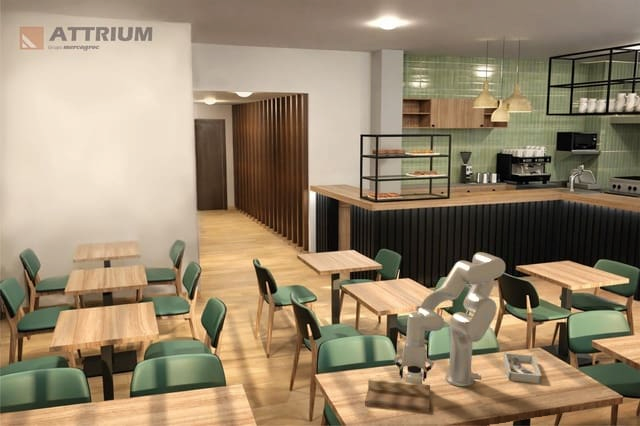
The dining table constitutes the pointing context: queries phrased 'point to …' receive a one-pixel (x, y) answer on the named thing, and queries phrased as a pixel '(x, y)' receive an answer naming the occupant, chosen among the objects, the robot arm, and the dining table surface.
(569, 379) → the dining table surface
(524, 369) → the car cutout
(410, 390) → the board
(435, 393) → the dining table surface
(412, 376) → the medicine bottle
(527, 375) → the grey tray
